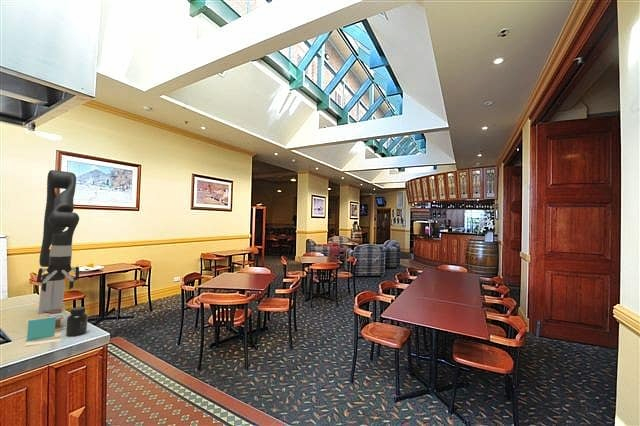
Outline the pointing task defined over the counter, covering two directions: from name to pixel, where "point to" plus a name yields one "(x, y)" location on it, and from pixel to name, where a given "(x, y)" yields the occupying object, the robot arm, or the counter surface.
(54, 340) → the board
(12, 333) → the counter surface
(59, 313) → the brown block
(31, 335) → the tile
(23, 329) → the counter surface
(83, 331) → the supplement bottle
